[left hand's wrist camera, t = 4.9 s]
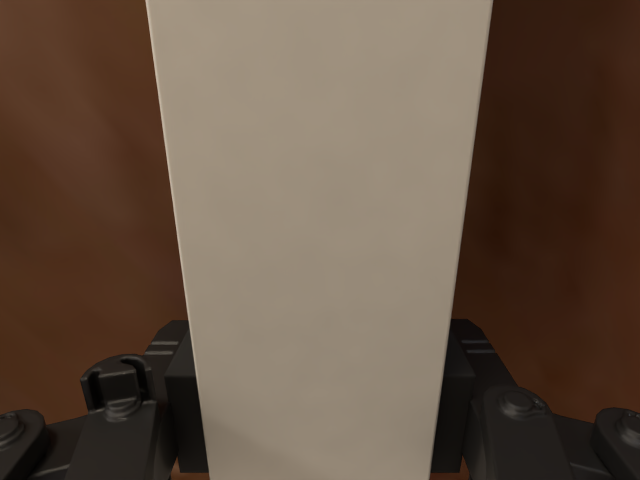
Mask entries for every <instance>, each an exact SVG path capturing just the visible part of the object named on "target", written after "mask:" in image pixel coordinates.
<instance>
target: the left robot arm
mask: <svg viewBox="0 0 640 480" xmlns="http://www.w3.org/2000/svg"><path fill="white" fill-rule="evenodd" d="M80 382H81V386H82V389H83V393H84V397H85V401H86V405H87V409H88V415H85V416H82V417H78V418H75V419H71V420H66V421H62V422H58V423H53V424H49V425H46V423H45V420H44V417H43V415H41V414H40V413H39V412H38V411H35V410H29V409H23V410H16V411H11V412H8V413H5V414H2V415H0V480H172V479H171V474H170V473H171V471H172V468H173V466H174V463H175V460H176V458H177V456H178V462H179V468H180V473H209V468H208V460H207V453H206V445H205V438H204V430H203V423H202V416H201V408H200V401H199V393H198V386H197V378H196V371H195V363H194V356H193V349H192V341H191V334H190V326H189V320H172V321H171V322H170V323H168V324H167V325H166V326H164V327H163V328H161V329H160V330H159V331H158V332H157V334H156V336H155V337H154V339H153V340H152V342H151V345H149V346H148V348H147V350H146V351H145V355H143V356H141V355H137V354H121V355H117V356H113V357H109V358H107V359H105V360H103V361H100V362H98V363H96V364H95V365H93V366H92V367H91V368H89V369H88V370H87V371H86V372H85V373H84V375H83V376H82V377H81V379H80ZM462 454H463V457H464V459H465V462H466V464H467V467H468V470H469V472H470V474H469V479H468V480H640V413H637V412H634V411H631V410H629V409H622V408H615V407H613V408H607V409H603V410H601V411H600V412H599V413H598V414H597V416H596V419H595V422H594V423H589V422H585V421H581V420H576V419H572V418H568V417H564V416H560V415H557V414H554V413H552V412H551V410H550V408H549V407H548V405H547V404H546V402H545V401H543V400H542V399H541V398H540V397H539V396H537V395H536V394H534V393H532V392H530V391H528V390H527V389H525V388H521V387H518V385H517V384H516V382H515V381H514V379H513V378H512V376H511V375H510V373H509V372H508V370H507V368H506V367H505V365H504V364H503V362H502V361H501V359H500V358H499V356H498V355H497V353H495V350H494V348H493V347H492V345H491V344H490V343H489V341H488V339H487V338H486V336H485V334H484V333H483V331H482V330H481V329H480V328H479V327H477V326H476V325H475V324H473V323H472V322H471V321H469V320H468V319H451V320H450V328H449V335H448V343H447V350H446V358H445V365H444V373H443V380H442V388H441V395H440V403H439V411H438V418H437V426H436V433H435V441H434V448H433V456H432V463H431V471H430V473H459V472H460V466H461V460H462Z"/></svg>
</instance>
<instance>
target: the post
mask: <svg viewBox="0 0 640 480" xmlns="http://www.w3.org/2000/svg"><path fill="white" fill-rule="evenodd" d="M492 5H493V0H146V6H147V13H148V21H149V28H150V36H151V43H152V51H153V58H154V65H155V73H156V80H157V88H158V95H159V103H160V110H161V118H162V125H163V133H164V140H165V147H166V155H167V162H168V170H169V177H170V185H171V192H172V200H173V207H174V214H175V222H176V229H177V237H178V244H179V252H180V259H181V267H182V274H183V282H184V289H185V296H186V304H187V311H188V319H189V326H190V334H191V341H192V349H193V356H194V363H195V371H196V378H197V386H198V393H199V401H200V408H201V416H202V423H203V430H204V438H205V445H206V453H207V460H208V468H209V475H210V480H429V478H430V471H431V463H432V456H433V448H434V441H435V433H436V426H437V418H438V411H439V403H440V395H441V388H442V380H443V373H444V365H445V358H446V350H447V343H448V335H449V328H450V320H451V313H452V305H453V298H454V290H455V283H456V275H457V268H458V260H459V253H460V245H461V238H462V230H463V223H464V215H465V208H466V200H467V193H468V185H469V178H470V170H471V163H472V155H473V148H474V140H475V133H476V125H477V118H478V110H479V103H480V95H481V88H482V80H483V73H484V65H485V58H486V50H487V43H488V35H489V28H490V20H491V13H492Z"/></svg>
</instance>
